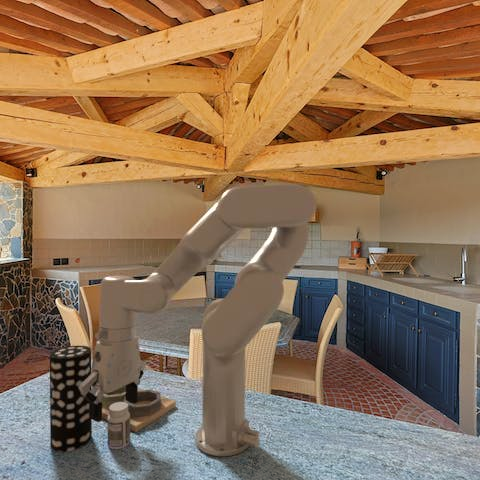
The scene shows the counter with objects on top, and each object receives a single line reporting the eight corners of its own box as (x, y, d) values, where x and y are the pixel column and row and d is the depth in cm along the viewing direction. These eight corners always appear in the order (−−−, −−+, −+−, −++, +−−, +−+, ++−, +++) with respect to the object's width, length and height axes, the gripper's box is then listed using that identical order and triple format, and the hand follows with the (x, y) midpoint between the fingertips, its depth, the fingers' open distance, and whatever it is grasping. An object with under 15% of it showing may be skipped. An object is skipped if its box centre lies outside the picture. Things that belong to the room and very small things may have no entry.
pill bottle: (122, 434, 83) (122, 398, 82) (134, 442, 80) (134, 405, 79) (103, 444, 79) (103, 406, 79) (115, 452, 76) (114, 413, 76)
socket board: (175, 406, 96) (175, 391, 96) (136, 432, 84) (136, 415, 84) (123, 389, 106) (123, 375, 106) (81, 409, 94) (80, 394, 94)
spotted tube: (52, 434, 82) (51, 348, 82) (91, 426, 86) (90, 343, 85) (48, 455, 75) (47, 360, 74) (91, 446, 78) (91, 355, 77)
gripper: (94, 346, 69) (91, 434, 70) (157, 327, 84) (154, 399, 85) (70, 339, 73) (67, 422, 73) (134, 322, 88) (132, 391, 88)
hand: (114, 410), depth 79 cm, fingers open, 9 cm apart
